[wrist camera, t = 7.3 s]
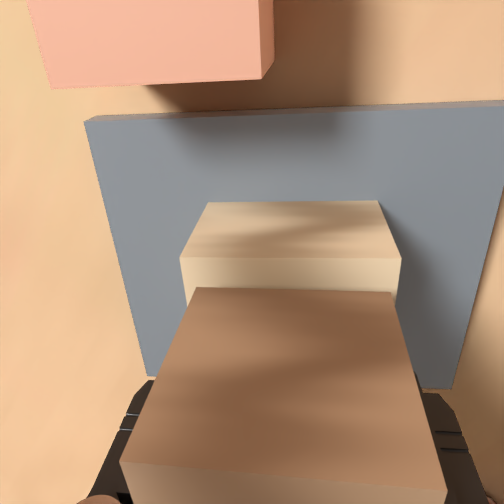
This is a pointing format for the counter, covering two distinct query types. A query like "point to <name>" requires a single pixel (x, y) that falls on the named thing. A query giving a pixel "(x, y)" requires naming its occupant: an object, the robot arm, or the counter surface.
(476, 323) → the counter surface
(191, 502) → the walnut block
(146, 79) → the terracotta block
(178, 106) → the counter surface
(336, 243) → the oak plinth
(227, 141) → the board
